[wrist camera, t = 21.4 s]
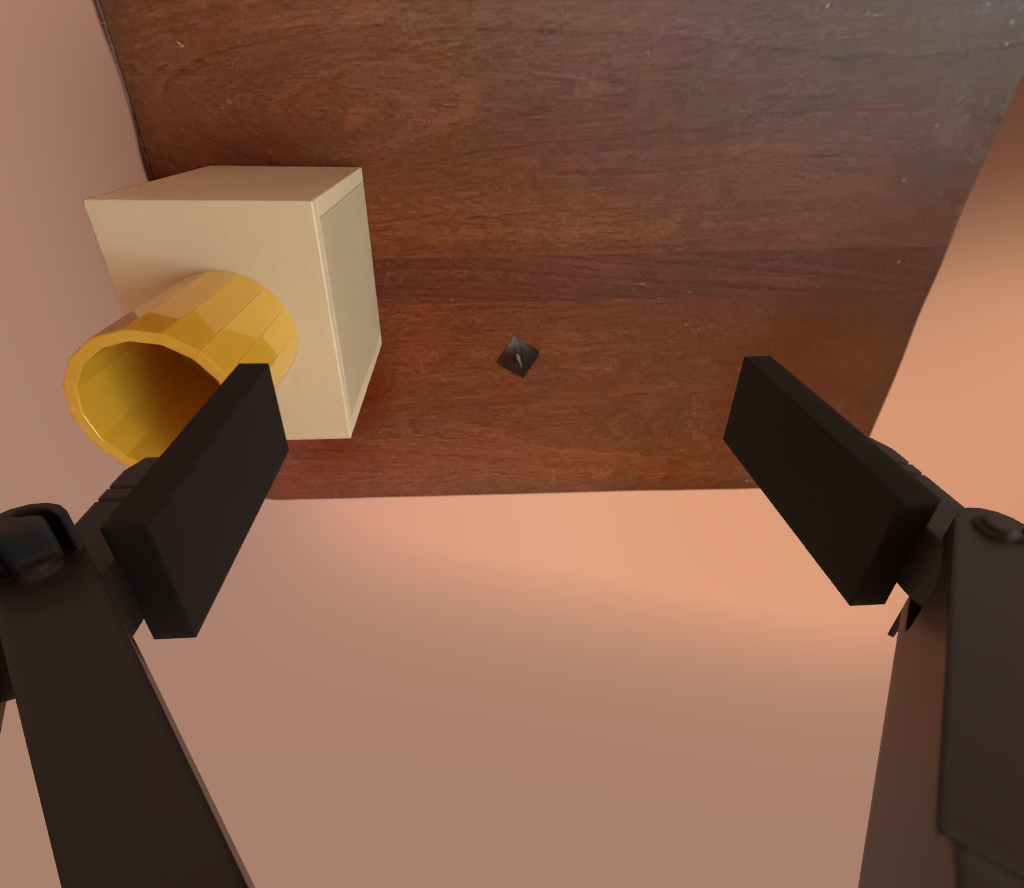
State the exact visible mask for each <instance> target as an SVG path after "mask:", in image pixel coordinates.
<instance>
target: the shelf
mask: <svg viewBox="0 0 1024 888" xmlns="http://www.w3.org/2000/svg"><path fill="white" fill-rule="evenodd" d="M83 204H84V206H85V209H86V212H87V215H88V217H89V220H90V223H91V225H92V228H93V231H94V233H95V236H96V239H97V242H98V244H99V247H100V250H101V253H102V255H103V258H104V261H105V263H106V266H107V269H108V272H109V274H110V277H111V280H112V282H113V285H114V288H115V291H116V294H117V296H118V299H119V302H120V304H121V307H122V310H123V313H124V315H127V314H129V313H130V312H132V311H133V310H135V309H136V308H138V307H139V306H141V305H143V304H144V303H146V302H147V301H149V300H150V299H152V298H153V297H155V296H156V295H158V294H160V293H161V292H163V291H164V290H166V289H167V288H169V287H170V286H172V285H174V284H175V283H177V282H178V281H180V280H182V279H183V278H187V277H189V276H191V275H193V274H196V273H199V272H204V271H213V270H219V271H228V272H233V273H237V274H240V275H243V276H246V277H248V278H250V279H253V280H254V281H256V282H258V283H260V284H261V285H263V286H264V287H265V288H267V289H268V290H269V291H271V292H272V293H273V294H274V295H275V296H276V297H277V298H278V299H279V300H280V301H281V303H282V304H283V305H284V307H285V308H286V309H287V311H288V313H289V315H290V316H291V318H292V321H293V323H294V326H295V329H296V333H297V341H298V343H297V353H296V357H295V360H294V363H293V365H292V367H291V368H290V370H289V372H288V375H287V377H286V378H285V380H284V381H283V383H282V384H281V386H280V388H279V389H278V391H277V392H276V397H277V401H278V405H279V410H280V414H281V418H282V422H283V427H284V431H285V435H286V440H298V439H338V438H351V435H352V432H353V429H354V426H355V423H356V420H357V417H358V414H359V411H360V408H361V405H362V402H363V399H364V396H365V393H366V390H367V387H368V384H369V381H370V378H371V375H372V372H373V369H374V366H375V363H376V360H377V357H378V354H379V351H380V347H381V344H382V341H381V334H380V333H381V332H380V323H379V314H378V306H377V297H376V288H375V280H374V271H373V262H372V254H371V245H370V236H369V228H368V219H367V210H366V202H365V193H364V184H363V176H362V168H361V167H292V166H206V167H203V168H199V169H195V170H191V171H188V172H184V173H180V174H176V175H173V176H169V177H165V178H161V179H158V180H154V181H150V182H147V183H143V184H139V185H135V186H132V187H128V188H124V189H120V190H117V191H113V192H109V193H106V194H102V195H98V196H95V197H90V198H87V199H84V200H83Z"/></svg>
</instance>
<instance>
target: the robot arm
mask: <svg viewBox="0 0 1024 888" xmlns="http://www.w3.org/2000/svg"><path fill="white" fill-rule="evenodd" d="M723 440H724V441H725V443H726V444H727V445H728V447H729V448H730V449H731V450H732V452H733V453H734V454H735V456H736V457H737V458H738V460H739V461H740V462H741V464H742V465H743V466H744V468H745V469H746V470H747V471H748V473H749V474H750V475H751V477H752V478H753V479H754V481H755V482H756V483H757V485H758V486H759V487H760V489H761V490H762V491H763V492H764V494H765V495H766V496H767V498H768V499H769V500H770V502H771V503H772V504H773V506H774V507H775V508H776V509H777V511H778V512H779V513H780V515H781V516H782V517H783V519H784V520H785V521H786V523H787V524H788V525H789V527H790V528H791V529H792V530H793V532H794V533H795V534H796V536H797V537H798V538H799V540H800V541H801V542H802V543H803V545H804V546H805V547H806V549H807V550H808V551H809V553H810V554H811V555H812V557H813V558H814V559H815V561H816V562H817V563H818V565H819V566H820V567H821V569H822V570H823V571H824V573H825V574H826V575H827V576H828V578H829V579H830V580H831V582H832V583H833V584H834V586H835V587H836V588H837V590H838V591H839V592H840V593H841V595H842V596H843V597H844V599H845V600H846V601H847V603H848V604H849V605H850V606H855V605H877V604H885V603H886V601H887V599H888V597H889V595H890V593H891V592H892V590H893V588H894V586H895V584H896V582H897V583H898V584H899V585H900V587H901V588H902V589H903V590H904V591H905V592H906V593H907V594H908V596H909V598H908V599H907V601H906V603H905V605H904V606H903V608H902V610H901V612H900V613H899V615H898V617H897V619H896V620H895V622H894V624H893V626H892V627H891V629H890V631H889V633H888V635H889V636H892V637H894V636H895V634H896V633H897V632H898V636H897V643H896V649H895V655H894V662H893V668H892V674H891V681H890V687H889V694H888V700H887V706H886V713H885V719H884V726H883V732H882V738H881V745H880V751H879V757H878V764H877V770H876V777H875V783H874V789H873V796H872V802H871V809H870V815H869V821H868V828H867V834H866V841H865V847H864V854H863V860H862V866H861V872H860V879H859V886H858V888H1024V524H1022V523H1020V522H1019V521H1017V520H1015V519H1013V518H1011V517H1009V516H1006V515H1003V514H1001V513H998V512H995V511H990V510H986V509H982V508H964V507H963V506H962V505H961V504H959V503H958V502H957V501H955V500H954V499H953V498H952V497H951V496H950V495H948V494H947V493H946V492H945V491H943V490H942V489H941V488H940V487H939V486H937V485H936V484H935V483H934V482H932V481H931V480H930V479H929V478H928V477H926V476H925V475H921V472H920V471H919V470H918V469H916V468H915V467H914V466H913V465H909V464H908V461H907V460H906V459H904V458H903V457H902V456H901V455H899V454H898V453H897V452H896V451H894V450H893V449H892V448H889V447H888V446H886V445H884V444H882V443H880V442H878V441H876V440H874V439H872V438H867V437H866V436H865V435H864V434H863V433H861V432H860V431H859V430H858V429H857V428H855V427H854V426H853V425H852V424H851V423H849V422H848V421H847V420H846V419H845V418H843V417H842V416H841V415H840V414H839V413H838V412H836V411H835V410H834V409H833V408H832V407H830V406H829V405H828V404H827V403H826V402H824V401H823V400H822V399H821V398H820V397H818V396H817V395H816V394H815V393H814V392H812V391H811V390H810V389H809V388H808V387H807V386H805V385H804V384H803V383H802V382H801V381H799V380H798V379H797V378H796V377H795V376H793V375H792V374H791V373H790V372H789V371H787V370H786V369H785V368H784V367H783V366H781V365H780V364H779V363H778V362H777V361H776V360H774V359H773V358H772V357H771V356H755V357H744V361H743V364H742V368H741V372H740V376H739V380H738V384H737V388H736V391H735V395H734V399H733V403H732V407H731V411H730V415H729V418H728V422H727V426H726V430H725V434H724V438H723ZM288 451H289V448H288V444H287V440H286V435H285V431H284V427H283V422H282V418H281V414H280V410H279V405H278V401H277V397H276V393H275V388H274V384H273V380H272V375H271V371H270V367H269V363H239V364H238V365H237V366H236V368H235V369H234V370H233V371H232V372H231V373H230V375H229V376H228V377H227V378H226V379H225V380H224V382H223V383H222V384H221V385H220V386H219V388H218V389H217V390H216V391H215V392H214V393H213V395H212V396H211V397H210V398H209V399H208V401H207V402H206V403H205V404H204V405H203V406H202V408H201V409H200V410H199V411H198V412H197V414H196V415H195V416H194V417H193V418H192V419H191V421H190V422H189V423H188V424H187V425H186V427H185V428H184V429H183V430H182V431H181V432H180V434H179V435H178V436H177V437H176V438H175V439H174V441H173V442H172V443H171V444H170V445H169V447H168V448H167V449H166V450H165V451H164V452H163V454H162V455H161V456H160V457H146V458H144V459H142V460H141V461H139V462H138V463H136V464H134V465H133V466H131V467H129V468H128V469H126V470H125V471H123V472H122V474H121V475H120V476H119V477H118V478H117V479H116V480H115V481H114V482H113V483H112V485H111V486H110V489H107V490H106V491H105V492H104V493H103V495H102V496H101V497H100V498H99V499H98V500H99V501H98V502H95V503H94V505H92V506H91V508H90V509H89V510H88V511H87V512H86V513H85V514H84V515H83V516H82V517H81V519H80V520H79V521H78V522H77V523H76V524H75V525H74V524H73V522H72V520H71V518H70V516H69V514H68V512H67V511H66V510H65V509H64V508H63V507H62V506H60V505H57V504H51V503H39V504H29V505H25V506H22V507H18V508H14V509H10V510H8V511H5V512H3V513H1V514H0V732H1V727H2V721H3V716H4V710H5V705H6V701H8V700H12V699H16V703H17V707H18V711H19V715H20V719H21V724H22V728H23V731H24V736H25V739H26V744H27V748H28V752H29V756H30V760H31V765H32V769H33V773H34V777H35V781H36V785H37V789H38V793H39V797H40V801H41V805H42V810H43V814H44V818H45V822H46V826H47V830H48V834H49V838H50V842H51V846H52V850H53V855H54V859H55V862H56V866H57V871H58V874H59V879H60V883H61V887H62V888H255V886H254V884H253V882H252V880H251V878H250V876H249V874H248V872H247V870H246V868H245V866H244V864H243V862H242V860H241V858H240V855H239V854H238V852H237V849H236V847H235V845H234V843H233V841H232V839H231V837H230V835H229V833H228V831H227V829H226V827H225V825H224V823H223V820H222V818H221V816H220V814H219V812H218V810H217V808H216V806H215V804H214V802H213V800H212V798H211V796H210V794H209V792H208V790H207V788H206V786H205V783H204V781H203V779H202V777H201V775H200V773H199V771H198V769H197V767H196V765H195V763H194V761H193V759H192V757H191V755H190V753H189V751H188V748H187V747H186V744H185V742H184V740H183V738H182V736H181V734H180V732H179V730H178V728H177V726H176V724H175V722H174V720H173V718H172V716H171V714H170V711H169V709H168V707H167V705H166V703H165V701H164V699H163V697H162V695H161V693H160V691H159V689H158V687H157V685H156V683H155V681H154V679H153V676H152V674H151V672H150V670H149V668H148V666H147V664H146V662H145V660H144V658H143V656H142V654H141V652H140V650H139V648H138V646H137V644H136V642H135V640H134V638H133V635H134V634H135V632H136V631H137V629H138V627H139V626H140V624H141V622H142V621H143V619H145V622H146V624H147V625H148V628H149V630H150V631H151V634H152V636H153V637H154V639H171V638H190V637H191V638H192V637H197V635H198V632H199V631H200V629H201V627H202V624H203V622H204V620H205V618H206V616H207V614H208V612H209V610H210V608H211V606H212V604H213V602H214V600H215V598H216V596H217V594H218V592H219V590H220V588H221V586H222V584H223V582H224V580H225V578H226V576H227V574H228V572H229V570H230V568H231V566H232V564H233V562H234V560H235V558H236V556H237V554H238V552H239V550H240V548H241V546H242V544H243V542H244V540H245V538H246V536H247V534H248V532H249V530H250V528H251V526H252V524H253V522H254V520H255V517H256V516H257V514H258V512H259V509H260V508H261V506H262V503H263V501H264V500H265V497H266V495H267V493H268V491H269V489H270V487H271V485H272V483H273V481H274V479H275V477H276V475H277V473H278V471H279V469H280V467H281V465H282V463H283V461H284V459H285V457H286V455H287V453H288Z"/></svg>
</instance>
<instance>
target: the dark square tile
mask: <svg viewBox="0 0 1024 888" xmlns="http://www.w3.org/2000/svg"><path fill="white" fill-rule="evenodd" d="M538 354H539V352H538V350H536V349H535V348H533V347H531V346H530V345H528V344H527V343H525V342H522V341H521V340H520V339H518V338H517V337H515V336H514V337H513V338H512V340H511V341H510V343H509V345H508V346H507V348H506V349H505V351H504V352H503V354H502V356H501V357H500V359H499V360H498V362H497V363H499V364H500V365H502V366H504V367H506V368H507V369H509V370H511V371H512V372H514V373H516V374H518V375H519V376H521V377H522V378H523V377H524V376H525V374H526V373H527V371H528V370H529V368H530V367H531V365H532V364H533V363H534V361H535V359H536V358H537V357H538Z"/></svg>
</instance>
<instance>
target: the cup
mask: <svg viewBox="0 0 1024 888" xmlns="http://www.w3.org/2000/svg"><path fill="white" fill-rule="evenodd" d="M297 343H298V341H297V333H296V329H295V326H294V323H293V321H292V318H291V316H290V315H289V313H288V311H287V309H286V308H285V307H284V305H283V304H282V303H281V301H280V300H279V299H278V298H277V297H276V296H275V295H274V294H273V293H272V292H271V291H269V290H268V289H267V288H265V287H264V286H263V285H261V284H260V283H258V282H256V281H254V280H253V279H250V278H248V277H246V276H243V275H240V274H237V273H233V272H228V271H219V270H213V271H204V272H199V273H196V274H193V275H191V276H189V277H187V278H183V279H182V280H180V281H178V282H177V283H175V284H174V285H172V286H170V287H169V288H167V289H166V290H164V291H163V292H161V293H160V294H158V295H156V296H155V297H153V298H152V299H150V300H149V301H147V302H146V303H144V304H143V305H141V306H139V307H138V308H136V309H135V310H133V311H132V312H130V313H129V314H127V315H125V316H124V317H123V318H121V319H119V320H118V321H116V322H115V323H113V324H111V325H110V326H108V327H107V328H105V329H104V330H102V331H101V332H99V333H98V334H96V335H95V336H93V337H91V338H90V339H89V340H88V341H87V342H85V343H84V345H82V346H81V347H80V348H79V349H78V350H77V351H76V352H75V353H74V354H73V355H72V356H71V357H70V358H69V360H68V365H67V369H66V373H65V378H64V382H63V389H64V392H65V396H66V399H67V403H68V406H69V410H70V413H71V415H72V417H73V419H74V420H75V421H76V422H77V424H78V425H79V426H80V428H81V429H82V430H83V431H84V433H85V434H86V435H87V437H88V438H89V439H90V441H92V442H93V443H94V444H95V445H96V446H98V447H99V448H101V449H102V450H103V451H105V452H106V453H108V454H109V455H110V456H112V457H114V458H115V459H116V460H117V461H119V462H121V463H122V464H125V465H127V466H130V467H131V466H133V465H134V464H136V463H138V462H139V461H141V460H142V459H144V458H146V457H160V456H161V455H162V454H163V452H164V451H165V450H166V449H167V448H168V447H169V445H170V444H171V443H172V442H173V441H174V439H175V438H176V437H177V436H178V435H179V434H180V432H181V431H182V430H183V429H184V428H185V427H186V425H187V424H188V423H189V422H190V421H191V419H192V418H193V417H194V416H195V415H196V414H197V412H198V411H199V410H200V409H201V408H202V406H203V405H204V404H205V403H206V402H207V401H208V399H209V398H210V397H211V396H212V395H213V393H214V392H215V391H216V390H217V389H218V388H219V386H220V385H221V384H222V383H223V382H224V380H225V379H226V378H227V377H228V376H229V375H230V373H231V372H232V371H233V370H234V369H235V368H236V366H237V365H238V364H239V363H269V367H270V371H271V375H272V380H273V384H274V388H275V393H276V392H277V391H278V389H279V388H280V386H281V384H282V383H283V381H284V380H285V378H286V377H287V375H288V372H289V370H290V368H291V367H292V365H293V363H294V360H295V357H296V353H297Z"/></svg>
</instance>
